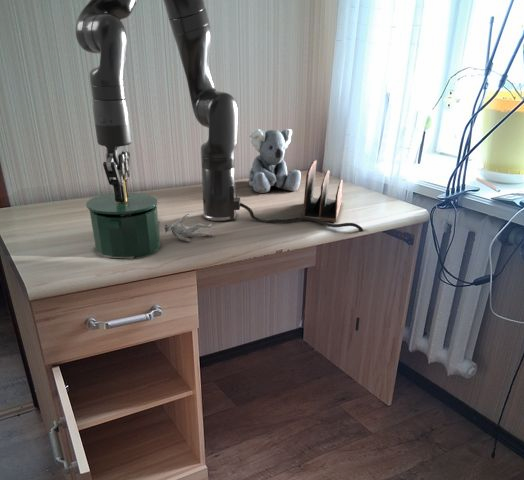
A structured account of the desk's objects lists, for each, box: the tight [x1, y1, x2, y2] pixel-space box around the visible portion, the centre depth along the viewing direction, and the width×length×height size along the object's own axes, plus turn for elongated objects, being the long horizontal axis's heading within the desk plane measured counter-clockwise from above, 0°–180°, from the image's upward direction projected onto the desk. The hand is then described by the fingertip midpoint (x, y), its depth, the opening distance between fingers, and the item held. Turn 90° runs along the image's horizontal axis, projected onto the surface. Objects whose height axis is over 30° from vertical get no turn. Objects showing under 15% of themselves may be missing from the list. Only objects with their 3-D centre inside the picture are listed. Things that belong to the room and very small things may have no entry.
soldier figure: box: [163, 213, 213, 242], centre depth 134 cm, size 8×5×12 cm
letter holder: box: [302, 159, 344, 223], centre depth 153 cm, size 10×20×14 cm, turn 168°
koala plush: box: [248, 127, 302, 194], centre depth 175 cm, size 17×18×20 cm
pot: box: [88, 205, 161, 260], centre depth 125 cm, size 16×21×10 cm
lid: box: [85, 179, 158, 215], centre depth 121 cm, size 17×17×6 cm
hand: (122, 199), depth 122 cm, fingers closed on lid, 2 cm apart
